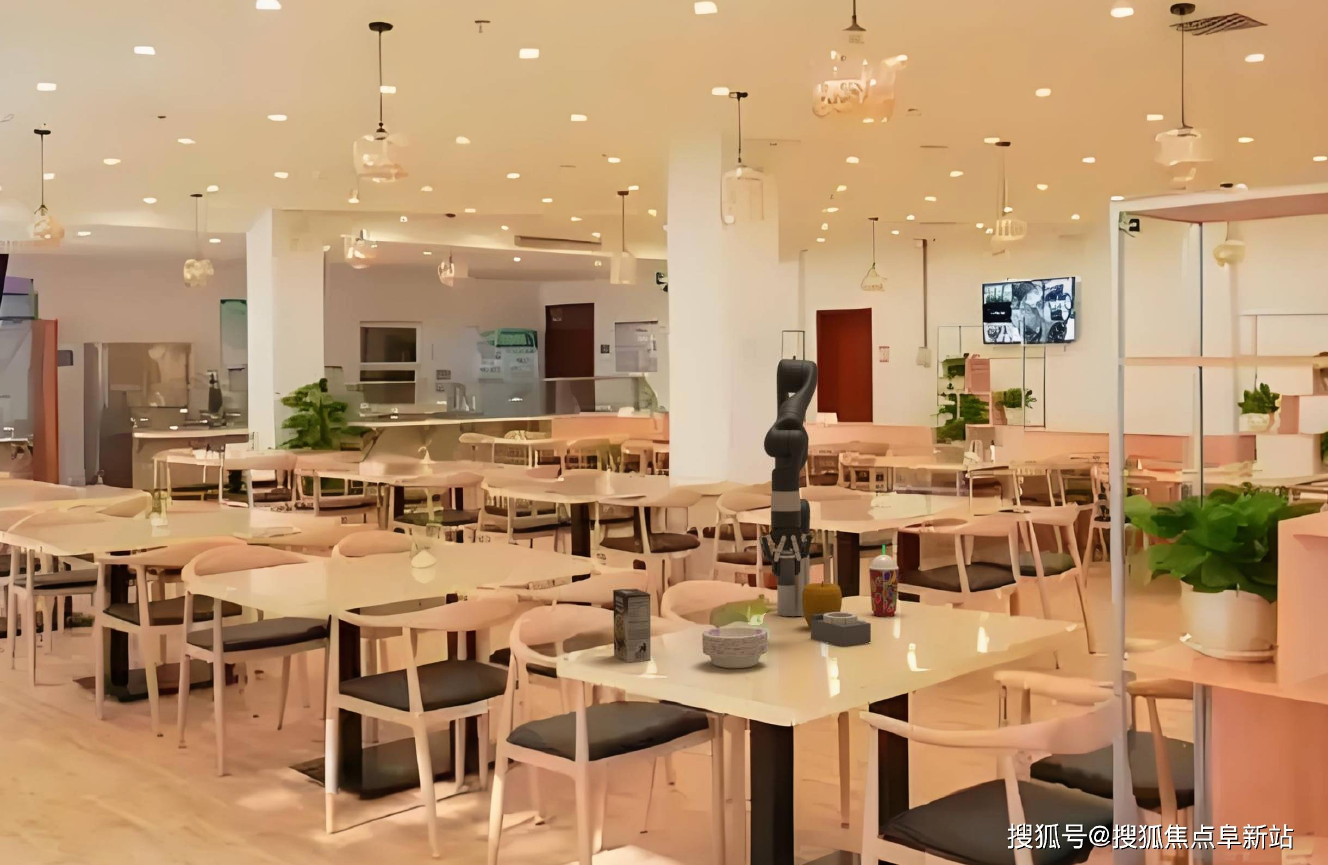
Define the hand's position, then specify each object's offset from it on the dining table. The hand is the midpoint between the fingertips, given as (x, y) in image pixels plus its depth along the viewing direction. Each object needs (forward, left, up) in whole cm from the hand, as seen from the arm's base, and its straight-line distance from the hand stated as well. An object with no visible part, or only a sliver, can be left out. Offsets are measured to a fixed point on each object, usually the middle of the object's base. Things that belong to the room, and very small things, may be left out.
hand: (786, 575), depth 322 cm
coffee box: (+7, -42, -17) cm, 46 cm away
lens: (0, 0, -2) cm, 2 cm away
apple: (-14, +16, -17) cm, 27 cm away
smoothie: (-28, +41, -17) cm, 52 cm away
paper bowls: (+22, -21, -17) cm, 35 cm away
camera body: (+3, +14, -17) cm, 22 cm away
